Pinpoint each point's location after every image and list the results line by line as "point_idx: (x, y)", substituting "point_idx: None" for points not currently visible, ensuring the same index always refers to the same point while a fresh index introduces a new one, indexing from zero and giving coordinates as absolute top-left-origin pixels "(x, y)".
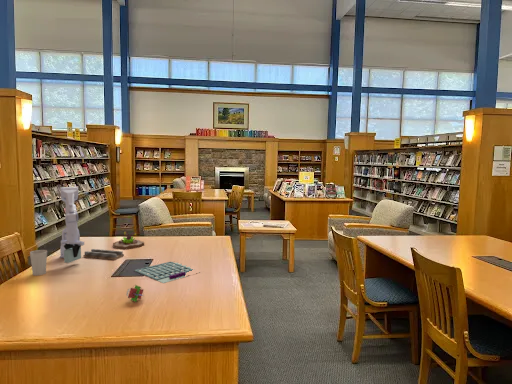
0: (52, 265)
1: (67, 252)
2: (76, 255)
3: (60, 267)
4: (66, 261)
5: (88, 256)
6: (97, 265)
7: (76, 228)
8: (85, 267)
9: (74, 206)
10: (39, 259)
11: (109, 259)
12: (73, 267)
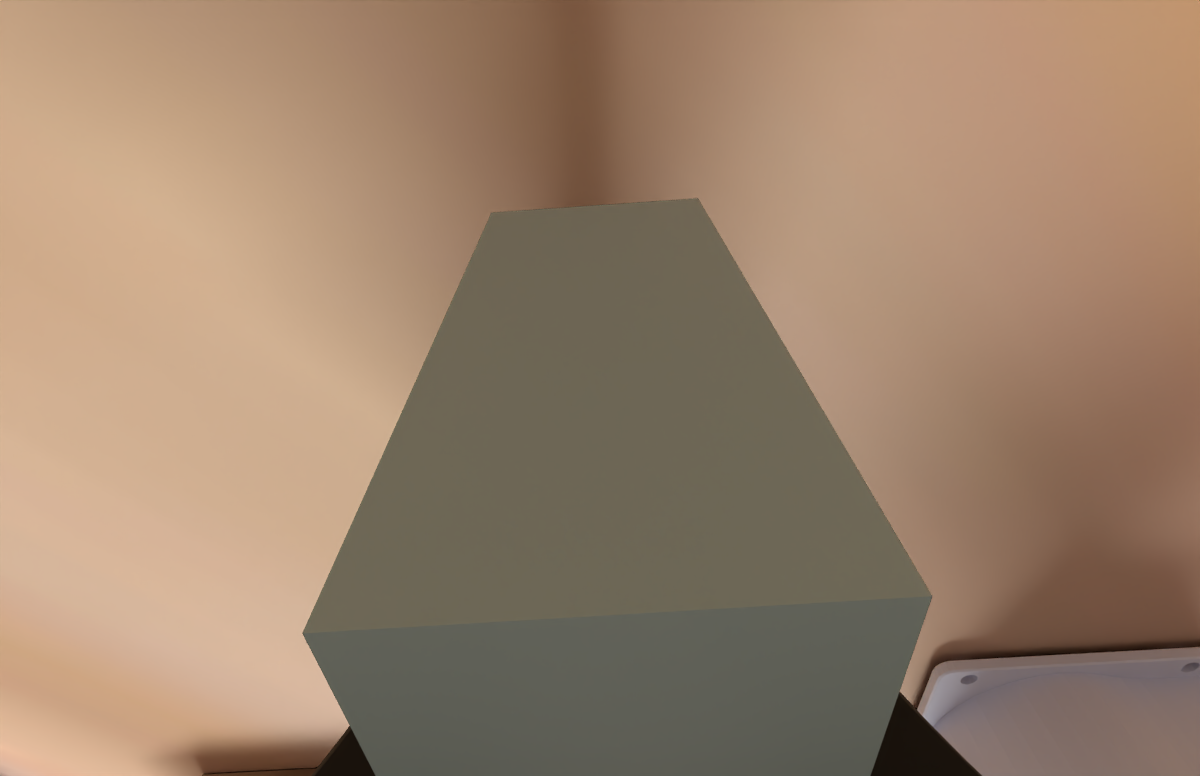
0: (1154, 190)
1: (476, 484)
2: None
3: (792, 107)
4: (599, 220)
5: None
6: (96, 530)
7: None
8: (152, 347)
9: None
10: None
11: (288, 771)
12: (429, 243)
